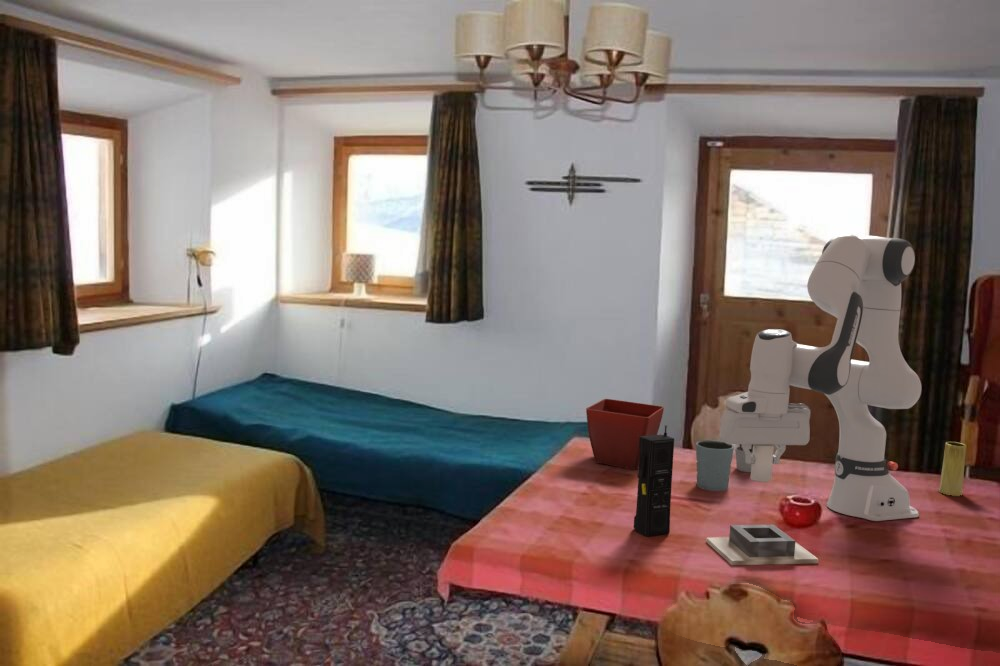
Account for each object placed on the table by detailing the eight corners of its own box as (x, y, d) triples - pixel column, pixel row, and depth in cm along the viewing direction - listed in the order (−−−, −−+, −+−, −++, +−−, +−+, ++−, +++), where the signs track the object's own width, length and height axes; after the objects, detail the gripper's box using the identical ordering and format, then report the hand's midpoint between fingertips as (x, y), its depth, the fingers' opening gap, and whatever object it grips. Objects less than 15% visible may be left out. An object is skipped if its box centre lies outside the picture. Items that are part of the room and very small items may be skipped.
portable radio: (644, 538, 209) (651, 431, 206) (628, 529, 214) (635, 425, 211) (671, 534, 213) (679, 429, 210) (655, 525, 218) (662, 423, 215)
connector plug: (765, 476, 207) (768, 442, 206) (774, 482, 203) (777, 447, 202) (746, 476, 206) (750, 441, 205) (755, 481, 202) (758, 446, 201)
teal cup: (738, 489, 252) (741, 446, 250) (712, 493, 246) (716, 450, 244) (710, 479, 260) (713, 438, 258) (685, 483, 254) (688, 442, 253)
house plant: (778, 478, 264) (783, 423, 262) (731, 476, 264) (735, 421, 262) (765, 465, 278) (770, 413, 276) (720, 463, 278) (724, 410, 276)
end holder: (787, 540, 212) (788, 521, 212) (817, 563, 198) (819, 543, 198) (706, 541, 209) (707, 522, 208) (731, 565, 195) (733, 545, 194)
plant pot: (661, 459, 279) (665, 405, 277) (644, 474, 262) (648, 417, 260) (601, 450, 287) (604, 398, 285) (581, 464, 269) (584, 408, 267)
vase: (939, 494, 255) (944, 444, 254) (937, 488, 261) (943, 440, 259) (963, 497, 253) (969, 447, 251) (961, 492, 259) (966, 443, 257)
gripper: (804, 400, 207) (798, 460, 209) (719, 398, 204) (714, 459, 205) (818, 406, 201) (812, 467, 203) (730, 404, 198) (725, 466, 199)
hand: (762, 463), depth 204 cm, fingers closed on connector plug, 4 cm apart
